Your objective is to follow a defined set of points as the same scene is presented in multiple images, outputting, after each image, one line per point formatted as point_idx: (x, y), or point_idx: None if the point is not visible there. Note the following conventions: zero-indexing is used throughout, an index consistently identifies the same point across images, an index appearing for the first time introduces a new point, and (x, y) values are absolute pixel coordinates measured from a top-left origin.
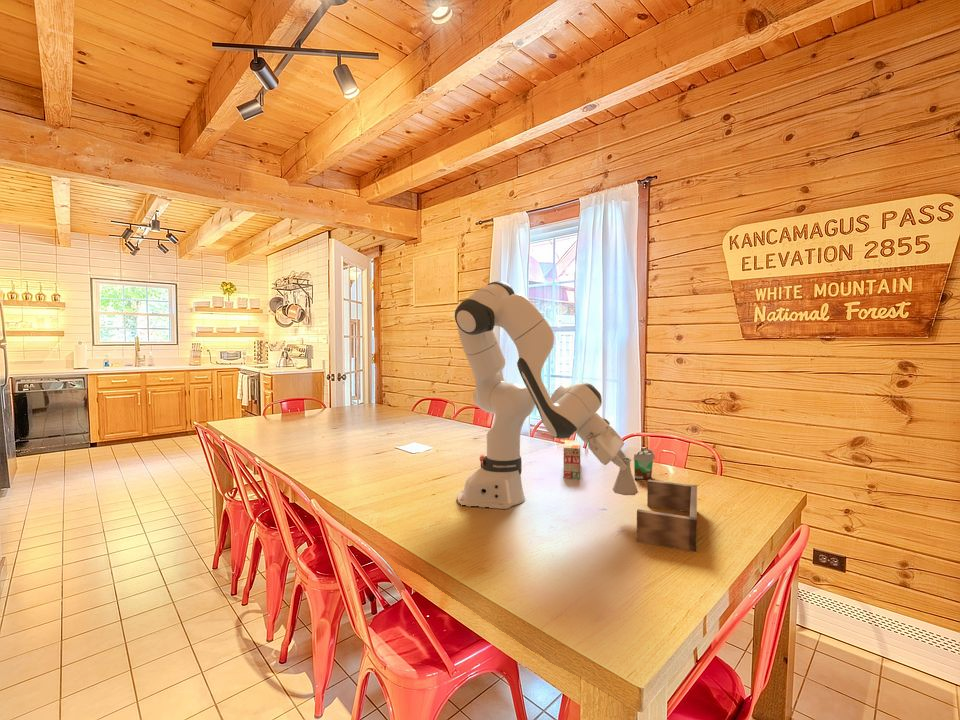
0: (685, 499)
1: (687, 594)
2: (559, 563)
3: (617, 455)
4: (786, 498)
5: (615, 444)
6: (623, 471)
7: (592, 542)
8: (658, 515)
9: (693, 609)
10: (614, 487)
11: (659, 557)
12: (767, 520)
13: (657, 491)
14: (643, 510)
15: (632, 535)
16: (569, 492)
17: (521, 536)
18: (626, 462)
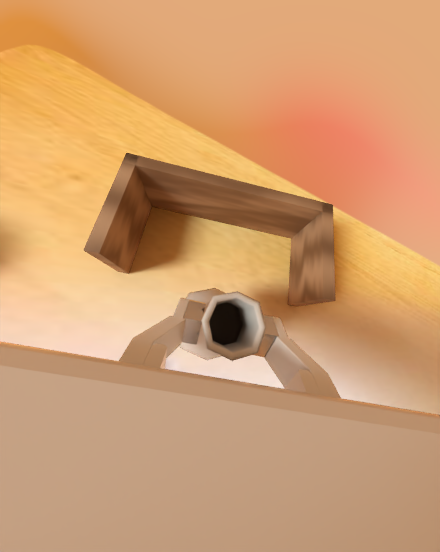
0: (142, 198)
1: (399, 262)
2: None
3: (307, 387)
4: (64, 66)
5: (212, 469)
6: (241, 331)
7: None
8: (333, 261)
9: (421, 262)
10: (218, 355)
11: None
12: (167, 123)
13: (120, 241)
14: (325, 286)
15: (277, 311)
16: None
17: None
18: (253, 318)
